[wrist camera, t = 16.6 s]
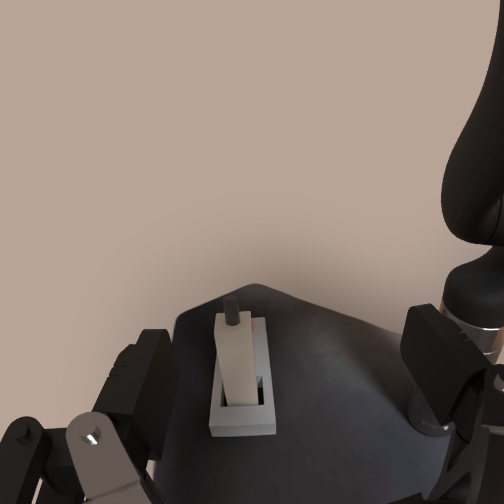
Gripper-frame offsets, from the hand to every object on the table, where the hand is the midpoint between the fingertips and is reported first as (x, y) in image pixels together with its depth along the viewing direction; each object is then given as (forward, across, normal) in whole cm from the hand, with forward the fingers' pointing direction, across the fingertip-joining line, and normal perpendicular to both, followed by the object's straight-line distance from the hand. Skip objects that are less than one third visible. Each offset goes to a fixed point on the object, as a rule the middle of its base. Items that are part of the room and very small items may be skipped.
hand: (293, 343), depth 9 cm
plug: (+20, +4, +27) cm, 34 cm away
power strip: (+28, +4, +27) cm, 39 cm away
